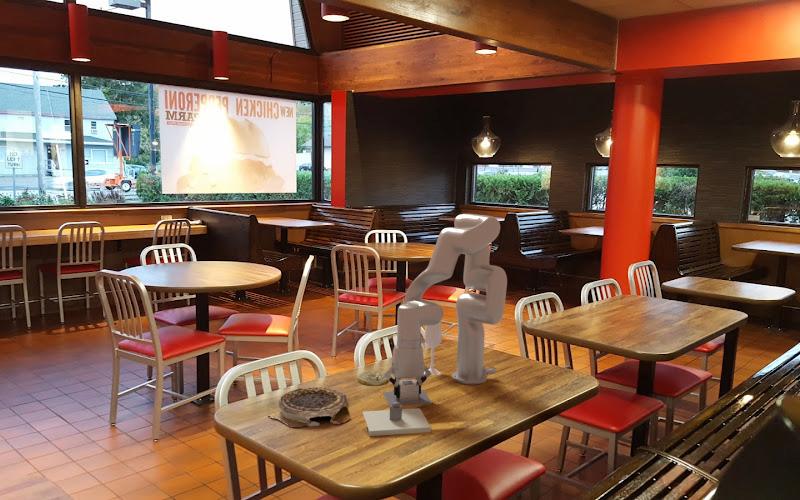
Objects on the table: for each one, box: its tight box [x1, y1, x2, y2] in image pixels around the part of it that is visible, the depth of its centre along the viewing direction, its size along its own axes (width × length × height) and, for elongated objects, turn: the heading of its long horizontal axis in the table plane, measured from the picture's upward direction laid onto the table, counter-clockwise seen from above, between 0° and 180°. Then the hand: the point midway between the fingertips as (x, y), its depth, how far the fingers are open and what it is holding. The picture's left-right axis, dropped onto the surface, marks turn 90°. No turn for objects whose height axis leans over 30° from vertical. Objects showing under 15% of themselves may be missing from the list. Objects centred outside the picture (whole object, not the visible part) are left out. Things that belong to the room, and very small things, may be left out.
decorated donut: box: [356, 370, 389, 387], centre depth 215 cm, size 10×11×4 cm
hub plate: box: [362, 402, 432, 437], centre depth 182 cm, size 18×14×6 cm
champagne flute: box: [423, 320, 443, 376], centre depth 226 cm, size 7×7×24 cm
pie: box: [269, 386, 352, 428], centre depth 191 cm, size 28×27×5 cm
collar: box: [399, 378, 419, 402], centre depth 199 cm, size 6×6×5 cm
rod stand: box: [382, 389, 433, 407], centre depth 199 cm, size 14×12×5 cm
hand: (407, 395), depth 199 cm, fingers closed on collar, 6 cm apart
